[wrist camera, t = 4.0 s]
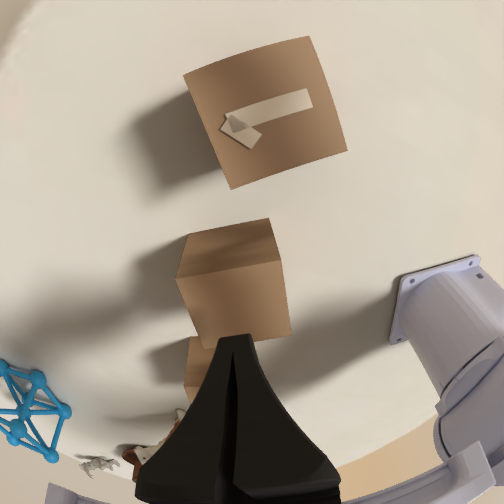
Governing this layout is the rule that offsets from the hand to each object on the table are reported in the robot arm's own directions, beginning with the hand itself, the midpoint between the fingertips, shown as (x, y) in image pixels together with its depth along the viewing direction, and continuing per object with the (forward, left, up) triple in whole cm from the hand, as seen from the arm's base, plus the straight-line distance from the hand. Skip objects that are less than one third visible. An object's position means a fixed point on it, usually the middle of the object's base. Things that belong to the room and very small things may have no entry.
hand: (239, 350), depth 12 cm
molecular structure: (+32, +14, -8) cm, 36 cm away
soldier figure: (+40, +43, -8) cm, 60 cm away
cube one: (-3, -9, -8) cm, 12 cm away
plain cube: (0, 0, -8) cm, 8 cm away
